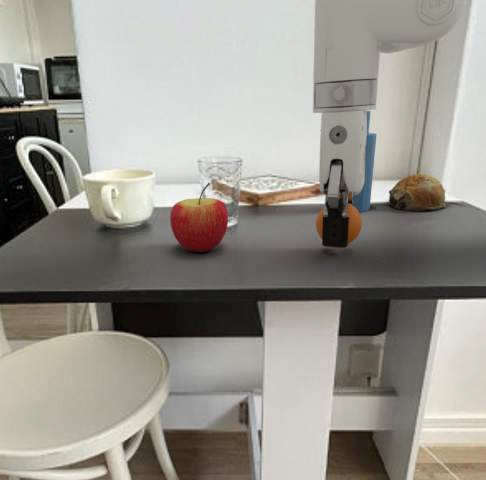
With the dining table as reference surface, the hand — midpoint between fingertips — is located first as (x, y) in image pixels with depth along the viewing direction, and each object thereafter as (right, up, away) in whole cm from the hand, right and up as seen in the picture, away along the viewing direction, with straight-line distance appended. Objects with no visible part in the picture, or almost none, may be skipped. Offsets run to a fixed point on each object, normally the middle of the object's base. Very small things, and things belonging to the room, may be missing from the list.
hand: (337, 237), depth 60 cm
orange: (0, -1, 0) cm, 1 cm away
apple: (-19, -2, +6) cm, 20 cm away
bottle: (+11, +8, +26) cm, 29 cm away
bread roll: (+23, +8, +26) cm, 35 cm away
